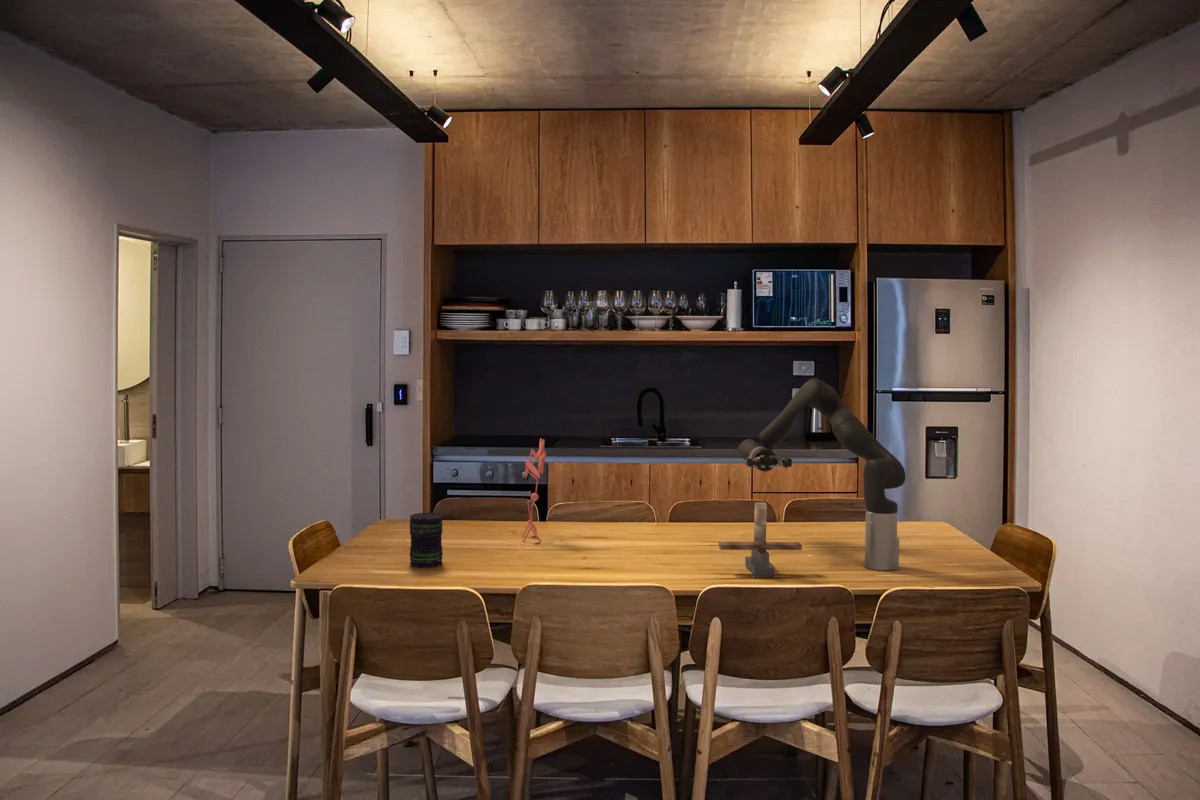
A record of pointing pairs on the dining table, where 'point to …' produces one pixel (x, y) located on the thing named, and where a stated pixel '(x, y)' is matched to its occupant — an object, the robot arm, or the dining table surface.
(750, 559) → the ridge
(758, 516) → the balance bar
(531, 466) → the figurine
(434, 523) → the storage jar
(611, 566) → the dining table surface
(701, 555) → the dining table surface
